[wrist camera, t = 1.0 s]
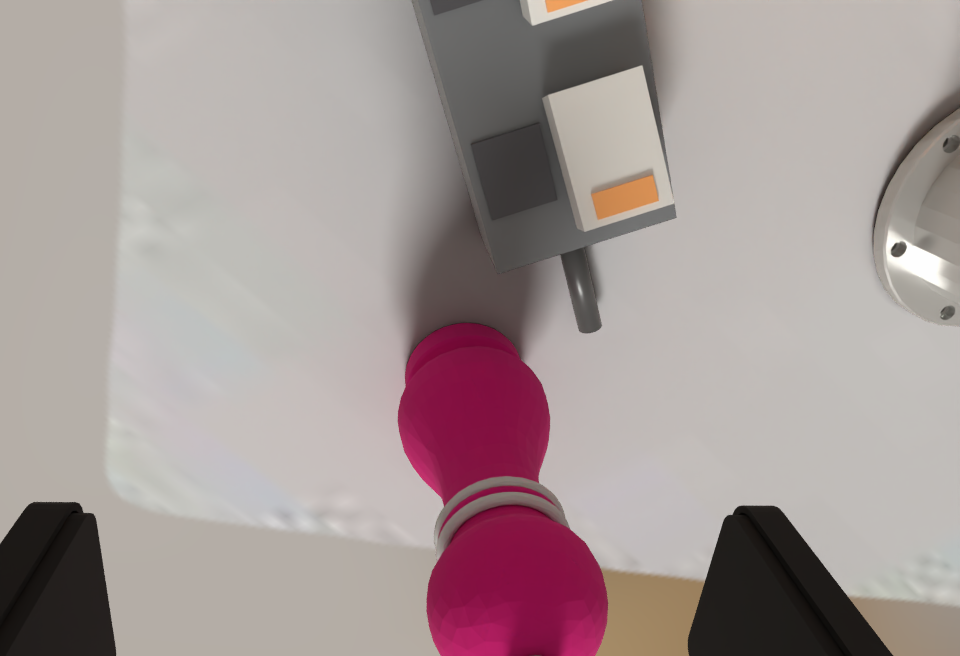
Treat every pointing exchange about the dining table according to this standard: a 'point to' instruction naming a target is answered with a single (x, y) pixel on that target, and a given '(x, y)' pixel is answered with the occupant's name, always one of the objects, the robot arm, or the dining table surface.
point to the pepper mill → (495, 504)
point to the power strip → (530, 122)
